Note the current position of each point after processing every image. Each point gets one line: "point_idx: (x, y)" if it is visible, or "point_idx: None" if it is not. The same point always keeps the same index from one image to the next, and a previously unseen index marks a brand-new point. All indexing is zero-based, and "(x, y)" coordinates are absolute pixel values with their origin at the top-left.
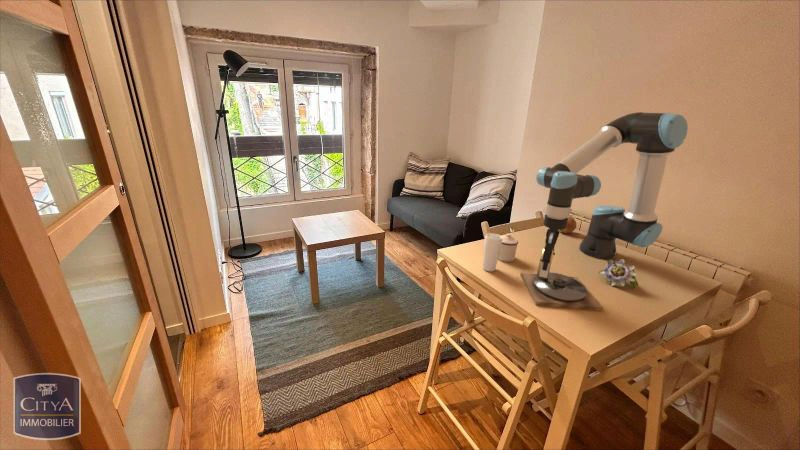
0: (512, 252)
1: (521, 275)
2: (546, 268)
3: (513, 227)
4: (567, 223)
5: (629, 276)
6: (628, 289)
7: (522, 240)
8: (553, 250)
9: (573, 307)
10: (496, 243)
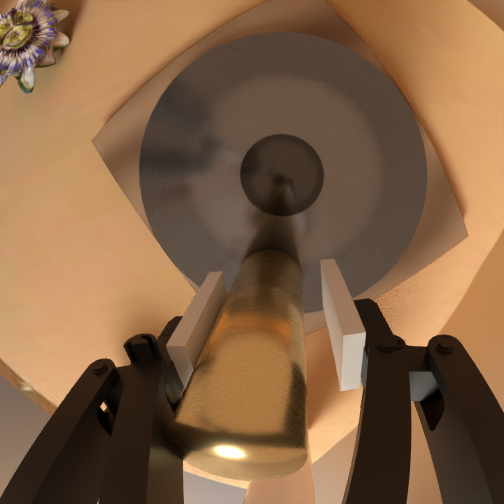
0: None
1: None
2: (380, 311)
3: (16, 382)
4: None
5: (34, 1)
6: (67, 10)
7: (33, 365)
8: (212, 422)
9: None
10: None
